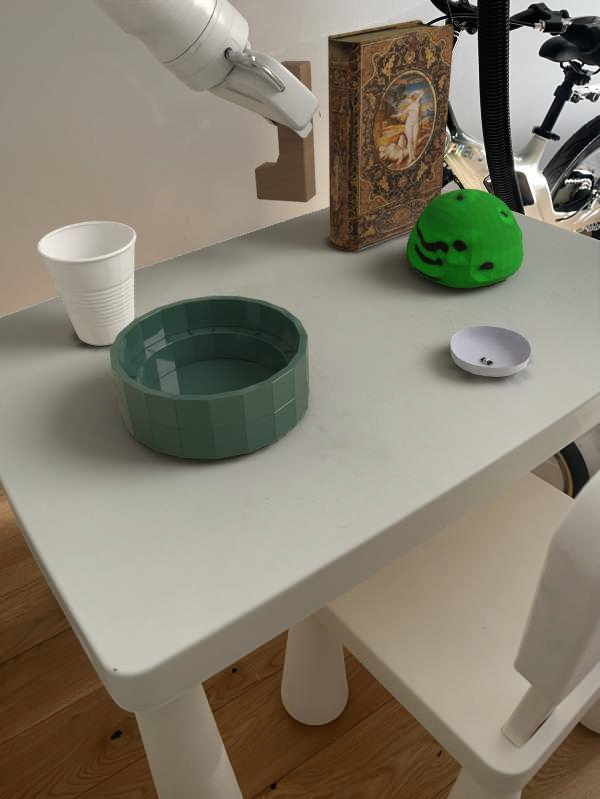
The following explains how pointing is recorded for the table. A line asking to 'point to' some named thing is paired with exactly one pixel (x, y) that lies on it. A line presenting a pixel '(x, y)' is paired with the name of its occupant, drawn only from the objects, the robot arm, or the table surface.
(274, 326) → the bowl
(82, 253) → the cup
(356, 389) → the table surface
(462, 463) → the table surface
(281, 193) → the wooden block
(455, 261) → the toy
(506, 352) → the white shallow round dish
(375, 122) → the book
